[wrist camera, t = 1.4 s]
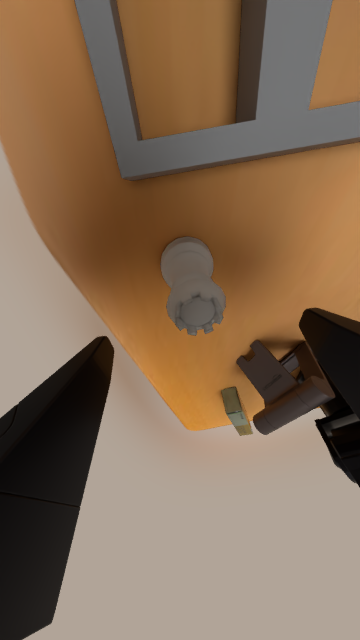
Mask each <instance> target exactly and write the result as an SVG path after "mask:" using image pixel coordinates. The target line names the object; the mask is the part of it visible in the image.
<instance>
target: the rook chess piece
mask: <svg viewBox="0 0 360 640" xmlns="http://www.w3.org/2000/svg"><path fill="white" fill-rule="evenodd" d="M160 265H161V271H162V275H163V279H164V280H165V281H166V283H167V284H168V285H169V287H171V292H170V295H169V297H168V301H167V306H166V307H167V311H168V315H169V317H170V318H171V319H172V321H173V322H174V323H175V325H176V326H177V327H178V328H179V330H180V331H181V330H182V329H184V328H186V329H187V332H188V335H195V336H196V335H197V330H199V329H204V332H205V334H207V333H209V332H211V331H213V327H212V324H213V323H214V322H215V323H217V324H220V323H221V321H222V319H223V315H222V313H223V311H224V309H225V307H226V296H225V295H224V293H223V291H222V289H221V287H219V286H218V285H217V284H215V283H214V282H213V280H212V278H211V275H212V272H213V258H212V255H211V253H210V251H209V249H208V247H207V245H205V244H204V243H203V242H202V241H201V240H199V239H197V238H193V237H189V236H187V237H182V238H177V239H176V240H174V241H173V242H171V243H170V244H168V245H167V247H166V249H165V250H164V252H163V253H162V257H161V264H160Z"/></svg>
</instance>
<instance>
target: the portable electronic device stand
mask: <svg viewBox="0 0 360 640" xmlns="http://www.w3.org/2000/svg"><path fill="white" fill-rule="evenodd" d="M250 347H251V348H252V350H253V351H254V353H255V356H254V357H253V358H252V359H251V360H250V361H247V360H246V359H245V358H244V357H243V356H240V357H239V358H238V359H237V364H238V365H239V367H240V368H241V369H242V371H243V372H244V373H245V375H246V376H247V377H248V379H249V380H250V381H251V383H252V384H253V385H254V387H255V388H256V389H257V391H258V392H259V393H260V395H261V396H262V397H263V399H264V403H265V408H264V409H263V410H262V411H260V412H259V413H257V414H256V415H254V417H253V423H254V425H255V427H256V429H257V430H258V431H259V432H260V433H262V434H264V435H267V434H269V433H271V432H273V431H275V430H276V429H278V428H280V427H282V426H283V425H286V424H287V423H289V422H291V421H293V420H295V419H297V418H298V417H300V416H302V415H304V414H306V413H308V412H309V411H311V410H313V409H315V408H317V407H319V406H320V405H322V404H324V403H326V402H328V401H330V400H331V399H333V398H335V394H334V392H333V390H332V388H331V387H330V385H329V383H328V381H327V379H326V377H325V375H324V373H323V372H322V370H321V368H320V366H319V364H318V362H317V361H316V360H317V358H316V357H315V355H314V354H313V352H312V350H311V348H310V346H309V345H308V343H307V341H305V342H304V343H303V344H301V345H299V346H298V347H297V348H296V350H294V351H293V352H292V353H291V354H290V355H289V356H287V357H286V358H285V359H284V360H283V361H281V362H279V361H278V360H277V359H276V358H275V357H274V356H273V355H272V354H271V353H270V352H269V351H268V350H267V349H266V347H265V346H264V345H263V344H262V343H261V342H260V341H258V340H255V341H254V342H253V343H252V344H251V345H250ZM298 366H300V368H301V370H302V373H303V375H304V378H305V381H304V382H302V383H301V384H300V383H299V382H298V381H297V380H296V379H295V378H294V377H293V376H292V375H291V374H290V373H291V372H292V371H293V370H294V369H296V368H297V367H298Z"/></svg>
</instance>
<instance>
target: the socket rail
mask: <svg viewBox="0 0 360 640" xmlns="http://www.w3.org/2000/svg"><path fill="white" fill-rule="evenodd" d="M75 4H76V8H77V12H78V15H79V19H80V23H81V27H82V31H83V34H84V38H85V42H86V46H87V49H88V53H89V57H90V61H91V64H92V68H93V72H94V76H95V80H96V83H97V87H98V91H99V95H100V98H101V102H102V106H103V110H104V113H105V117H106V121H107V125H108V128H109V132H110V136H111V140H112V144H113V147H114V151H115V155H116V159H117V162H118V166H119V170H120V174H121V177H122V178H123V179H127V180H130V181H134V180H140V179H146V178H151V177H157V176H163V175H169V174H175V173H181V172H186V171H192V170H198V169H204V168H210V167H216V166H221V165H227V164H233V163H239V162H245V161H251V160H256V159H262V158H268V157H274V156H280V155H286V154H291V153H297V152H303V151H309V150H315V149H321V148H326V147H332V146H338V145H344V144H350V143H355V142H360V101H357V102H352V103H346V104H341V105H335V106H330V107H324V108H319V109H313V110H308V109H309V105H310V100H311V96H312V91H313V87H314V82H315V77H316V73H317V68H318V64H319V59H320V55H321V50H322V46H323V41H324V37H325V32H326V28H327V23H328V19H329V14H330V10H331V5H332V0H242V12H241V32H240V52H239V72H238V92H237V112H236V124H230V125H224V126H219V127H213V128H208V129H202V130H197V131H191V132H186V133H180V134H175V135H169V136H164V137H158V138H153V139H147V140H142V135H141V130H140V125H139V119H138V114H137V109H136V103H135V98H134V93H133V87H132V82H131V77H130V71H129V66H128V61H127V55H126V50H125V44H124V39H123V34H122V28H121V23H120V18H119V12H118V7H117V2H116V0H75Z"/></svg>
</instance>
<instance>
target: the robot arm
mask: <svg viewBox="0 0 360 640" xmlns="http://www.w3.org/2000/svg"><path fill="white" fill-rule="evenodd" d="M299 328H300V330H301V332H302V334H303V335H304V337H305V339H306V341H307V343H308V345H309V346H310V348H311V350H312V352H313V354H314V355H315V357H316V358H317V360H316V361H317V362H318V364H319V366H320V368H321V370H322V372H323V373H324V375H325V377H326V379H327V381H328V383H329V385H330V387H331V388H332V390H333V392H334V394H335V398H333V399H331V400H330V401H328V402H326V403H324V404H322V405H320V406H319V407H320V408H321V409H322V411H323V412H324V414H325V415H326V417H325V418H322V419H317V420H315V422H316V426H317V428H318V430H319V432H320V434H321V436H322V438H323V440H324V442H325V443H326V445H327V447H328V450H329V452H330V455H331V457H332V460H333V462H334V464H335V465H336V466H337V467H339V468H340V469H342V470H343V471H344V473H345V474H346V475H347V476H348V477H349V479H350V480H351V481H353V482H354V483H357V484H358V485H359V487H360V322H358V321H355V320H352V319H349V318H346V317H343V316H340V315H337V314H334V313H331V312H328V311H325V310H322V309H319V308H309V309H306V310H305V311H304V312H303V315H302V317H301V320H300V322H299ZM113 358H114V348H113V346H112V344H111V342H110V340H109V339H108V337H107V336H101V337H97V338H95V339H94V340H93V341H92V342H91V343H89V344H88V345H87V346H86V347H85V348H83V349H82V350H81V351H80V352H79V353H77V354H76V355H75V356H74V357H73V358H72V359H70V360H69V361H68V362H67V363H66V364H65V365H63V366H62V367H61V368H60V369H58V370H57V371H56V372H55V373H54V374H53V375H51V376H50V377H49V378H48V379H46V380H45V381H44V382H43V383H42V384H41V385H39V386H38V387H37V388H36V389H35V390H33V391H32V392H31V393H30V394H29V395H28V396H26V397H25V398H24V399H23V400H22V401H20V402H19V404H17V405H16V406H14V407H13V408H12V409H11V410H10V411H8V412H7V413H6V414H5V415H4V416H2V417H1V418H0V640H22V639H24V638H26V637H28V636H29V635H31V634H33V633H35V632H37V631H39V630H40V629H42V628H44V627H46V626H48V625H49V624H51V623H52V620H53V617H54V613H55V610H56V606H57V602H58V597H59V593H60V589H61V585H62V581H63V577H64V573H65V568H66V564H67V560H68V556H69V552H70V548H71V544H72V540H73V536H74V531H75V527H76V523H77V519H78V515H79V511H80V506H81V502H82V498H83V494H84V489H85V485H86V481H87V477H88V473H89V469H90V465H91V461H92V456H93V452H94V448H95V444H96V440H97V436H98V432H99V427H100V423H101V419H102V415H103V411H104V407H105V403H106V398H107V395H108V390H109V386H110V381H111V373H112V366H113ZM296 380H297V381H298V382H299V383H300V384H301V383H302V382H304V381H305V378H304V375H303V373H302V370H301V372H300V374H299V375H298V377H297V379H296Z"/></svg>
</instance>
